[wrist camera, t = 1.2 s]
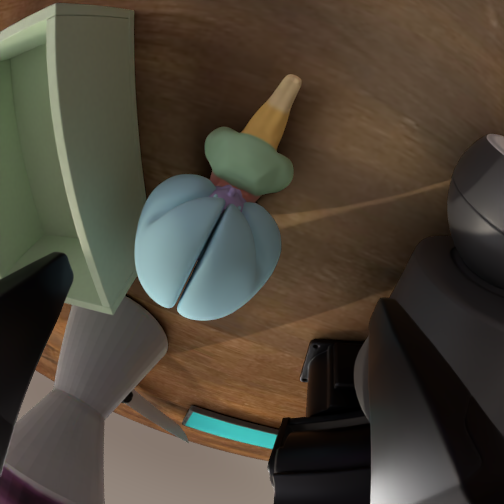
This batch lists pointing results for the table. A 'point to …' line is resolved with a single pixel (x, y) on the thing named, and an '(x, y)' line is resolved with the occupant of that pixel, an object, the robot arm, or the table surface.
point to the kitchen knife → (153, 414)
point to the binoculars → (461, 282)
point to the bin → (71, 148)
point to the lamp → (80, 407)
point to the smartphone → (230, 428)
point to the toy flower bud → (218, 219)
